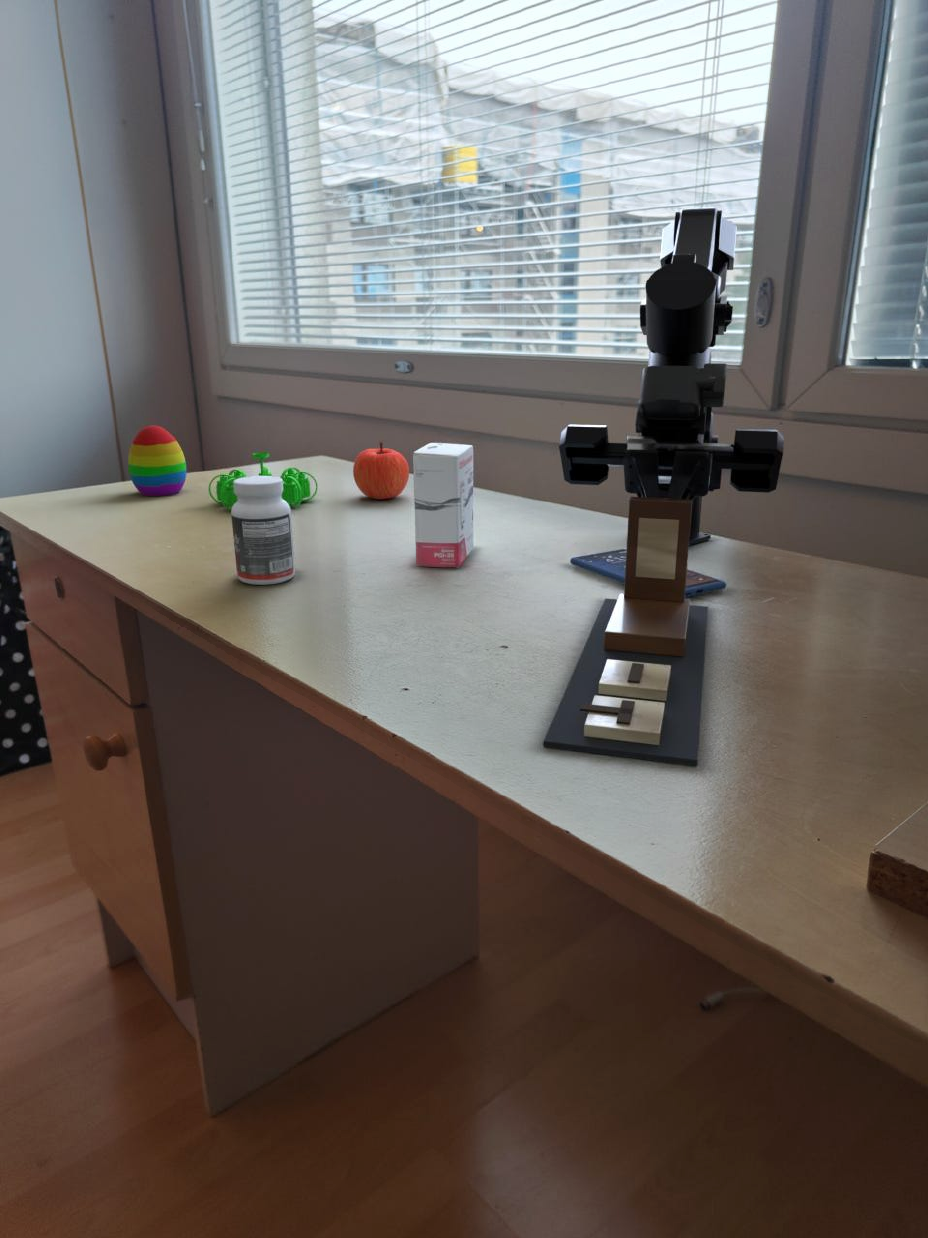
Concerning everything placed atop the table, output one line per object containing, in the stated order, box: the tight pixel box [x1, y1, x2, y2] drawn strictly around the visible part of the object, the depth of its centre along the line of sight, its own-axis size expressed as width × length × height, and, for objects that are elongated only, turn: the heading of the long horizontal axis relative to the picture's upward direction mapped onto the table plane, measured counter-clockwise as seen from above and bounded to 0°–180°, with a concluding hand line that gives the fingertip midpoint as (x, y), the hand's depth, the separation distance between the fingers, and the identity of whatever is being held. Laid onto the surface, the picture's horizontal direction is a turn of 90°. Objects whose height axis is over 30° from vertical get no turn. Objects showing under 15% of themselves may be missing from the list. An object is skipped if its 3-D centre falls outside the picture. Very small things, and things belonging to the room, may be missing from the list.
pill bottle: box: [230, 475, 296, 586], centre depth 85 cm, size 6×6×10 cm
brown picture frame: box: [604, 496, 693, 657], centre depth 68 cm, size 10×6×10 cm, turn 164°
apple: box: [352, 441, 410, 500], centre depth 124 cm, size 8×8×8 cm
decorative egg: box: [127, 424, 187, 497], centre depth 128 cm, size 8×8×10 cm
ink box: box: [412, 442, 474, 568], centre depth 91 cm, size 9×5×12 cm, turn 168°
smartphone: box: [570, 548, 727, 598], centre depth 85 cm, size 8×1×15 cm
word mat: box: [542, 598, 709, 767], centre depth 64 cm, size 29×9×1 cm, turn 164°
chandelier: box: [208, 452, 318, 510], centre depth 121 cm, size 15×15×7 cm
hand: (658, 538), depth 72 cm, fingers closed
